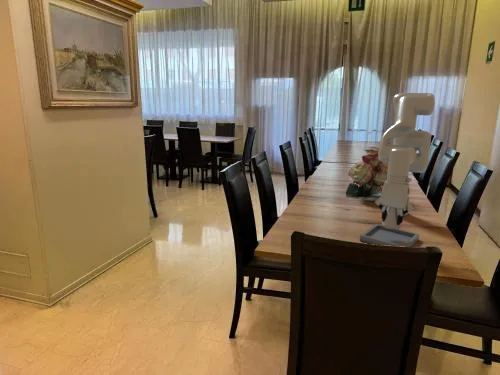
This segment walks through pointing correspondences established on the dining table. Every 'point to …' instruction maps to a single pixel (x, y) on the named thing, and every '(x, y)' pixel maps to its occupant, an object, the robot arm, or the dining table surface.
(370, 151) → the rose bouquet
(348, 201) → the dining table surface
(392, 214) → the flask
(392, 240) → the serving tray
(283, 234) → the dining table surface
